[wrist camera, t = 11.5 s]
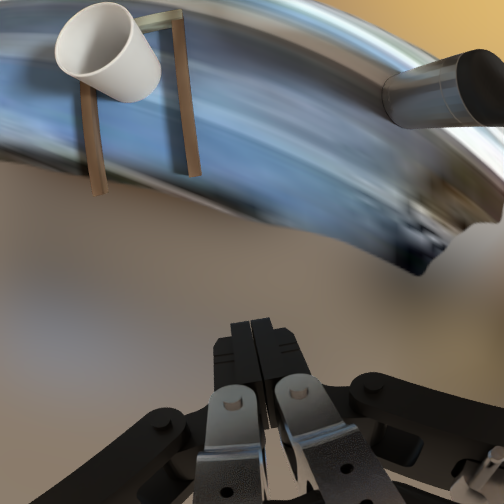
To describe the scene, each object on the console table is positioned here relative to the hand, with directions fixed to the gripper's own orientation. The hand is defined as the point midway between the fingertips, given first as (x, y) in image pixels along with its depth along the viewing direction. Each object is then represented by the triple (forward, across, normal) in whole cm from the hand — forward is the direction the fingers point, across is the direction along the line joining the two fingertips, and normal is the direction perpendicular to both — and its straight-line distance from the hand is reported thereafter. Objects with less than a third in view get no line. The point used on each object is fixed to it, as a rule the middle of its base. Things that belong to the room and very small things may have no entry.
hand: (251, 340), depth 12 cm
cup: (+32, +10, -21) cm, 40 cm away
